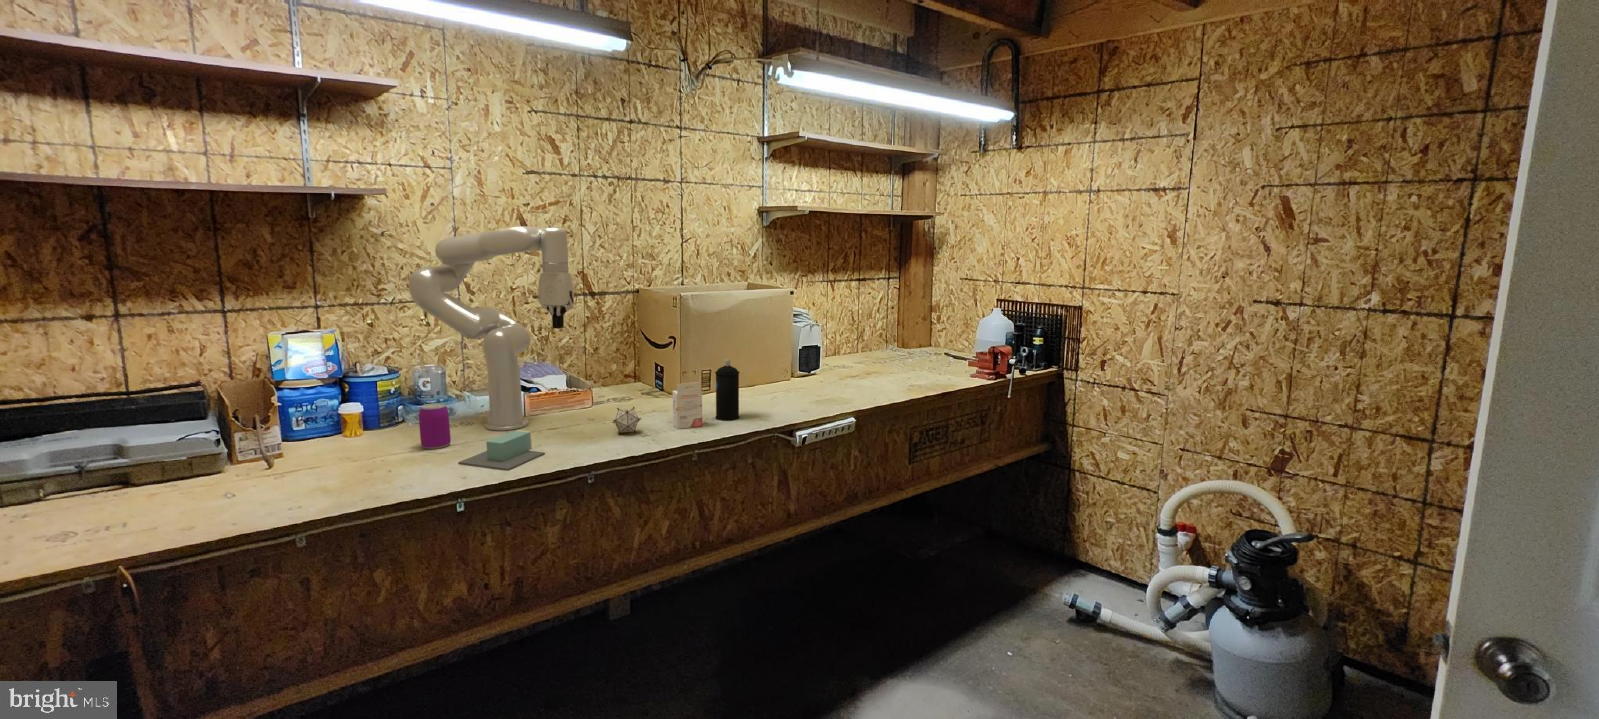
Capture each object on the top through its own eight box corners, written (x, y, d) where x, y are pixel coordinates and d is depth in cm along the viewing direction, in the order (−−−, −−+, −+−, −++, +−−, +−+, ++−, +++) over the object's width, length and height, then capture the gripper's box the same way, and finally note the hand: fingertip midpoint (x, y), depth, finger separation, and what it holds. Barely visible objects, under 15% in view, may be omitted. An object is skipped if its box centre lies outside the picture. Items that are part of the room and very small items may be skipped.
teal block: (517, 447, 204) (487, 459, 193) (516, 430, 203) (486, 441, 192) (531, 448, 203) (502, 461, 191) (531, 431, 202) (501, 443, 190)
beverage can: (445, 440, 211) (442, 401, 209) (454, 446, 206) (452, 405, 204) (417, 445, 206) (414, 405, 204) (426, 451, 200) (423, 410, 198)
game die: (630, 445, 221) (631, 426, 214) (606, 434, 222) (606, 414, 215) (645, 426, 228) (646, 406, 221) (621, 415, 229) (622, 395, 222)
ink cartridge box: (697, 422, 235) (697, 379, 233) (702, 426, 231) (702, 381, 228) (672, 425, 231) (671, 381, 229) (677, 429, 227) (676, 384, 225)
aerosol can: (744, 417, 243) (744, 359, 240) (729, 422, 236) (729, 363, 233) (725, 413, 248) (725, 357, 244) (710, 418, 241) (709, 360, 237)
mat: (458, 463, 190) (458, 462, 190) (497, 448, 204) (497, 446, 204) (508, 470, 186) (508, 468, 185) (544, 454, 200) (544, 452, 200)
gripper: (527, 268, 217) (530, 328, 220) (569, 269, 212) (571, 330, 215) (542, 267, 224) (545, 325, 227) (583, 268, 219) (586, 327, 222)
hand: (558, 327), depth 221 cm, fingers closed
